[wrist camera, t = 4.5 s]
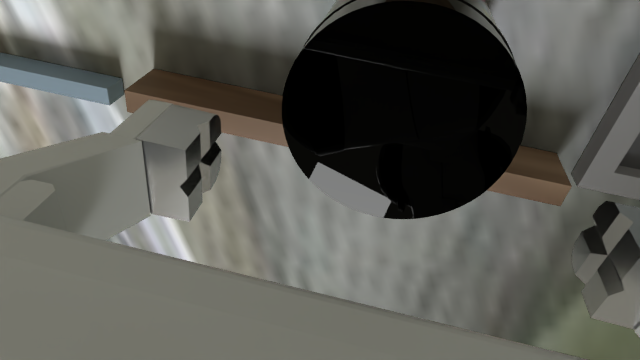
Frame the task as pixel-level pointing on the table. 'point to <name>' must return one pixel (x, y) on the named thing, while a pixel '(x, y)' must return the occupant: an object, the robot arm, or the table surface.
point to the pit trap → (615, 145)
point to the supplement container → (404, 105)
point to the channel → (266, 125)
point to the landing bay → (60, 79)
